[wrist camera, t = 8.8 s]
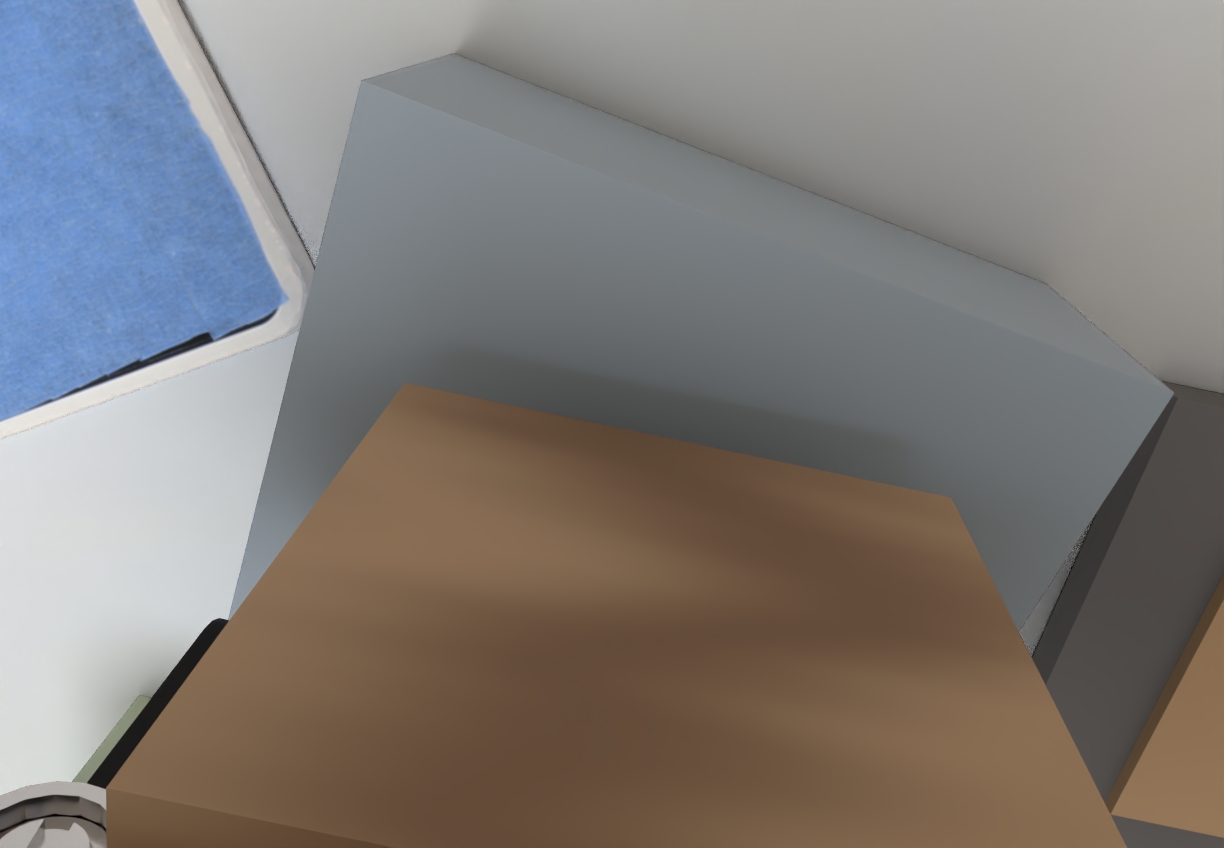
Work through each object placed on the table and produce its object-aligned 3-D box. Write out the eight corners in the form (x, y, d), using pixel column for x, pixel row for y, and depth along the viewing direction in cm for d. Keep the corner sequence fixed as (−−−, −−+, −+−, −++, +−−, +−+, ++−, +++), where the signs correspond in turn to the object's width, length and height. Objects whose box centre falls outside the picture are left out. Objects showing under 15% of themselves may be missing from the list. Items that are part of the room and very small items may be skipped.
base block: (1041, 279, 16) (1174, 393, 12) (787, 729, 20) (814, 944, 16) (457, 52, 16) (360, 80, 11) (313, 564, 20) (198, 740, 15)
